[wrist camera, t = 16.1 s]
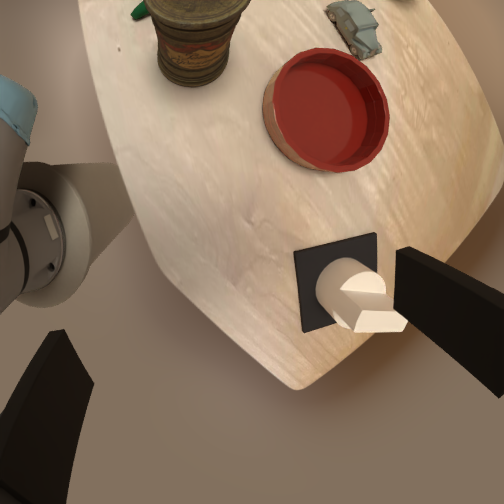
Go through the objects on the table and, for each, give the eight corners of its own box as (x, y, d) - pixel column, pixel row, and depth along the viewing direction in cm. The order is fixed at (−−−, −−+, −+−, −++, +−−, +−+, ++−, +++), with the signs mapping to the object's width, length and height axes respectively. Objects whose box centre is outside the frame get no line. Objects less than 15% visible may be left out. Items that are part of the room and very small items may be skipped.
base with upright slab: (371, 261, 44) (419, 291, 33) (354, 311, 46) (394, 349, 35) (325, 253, 41) (369, 286, 30) (308, 308, 44) (343, 352, 33)
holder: (302, 330, 46) (303, 333, 45) (293, 251, 41) (295, 253, 40) (373, 307, 48) (376, 309, 47) (374, 231, 43) (376, 233, 42)
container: (151, 41, 28) (130, -35, 11) (217, 23, 29) (239, -56, 12) (168, 96, 31) (149, 43, 15) (235, 77, 32) (273, 16, 16)
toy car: (356, 61, 34) (373, 53, 30) (322, 10, 31) (337, -3, 26) (383, 53, 34) (401, 45, 30) (352, 4, 31) (367, -8, 26)
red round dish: (273, 178, 37) (285, 180, 33) (252, 61, 32) (261, 48, 27) (375, 164, 40) (396, 165, 35) (358, 61, 34) (376, 53, 30)
